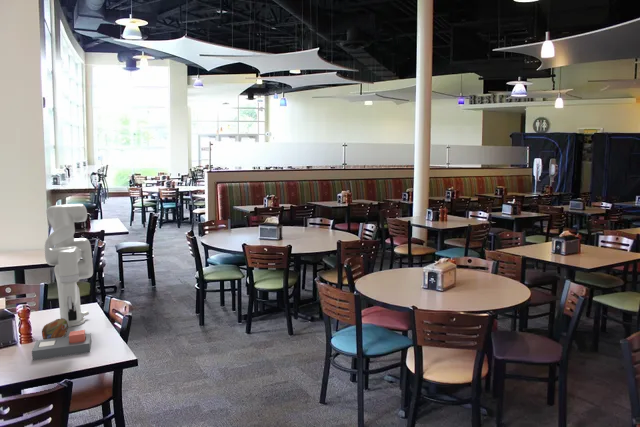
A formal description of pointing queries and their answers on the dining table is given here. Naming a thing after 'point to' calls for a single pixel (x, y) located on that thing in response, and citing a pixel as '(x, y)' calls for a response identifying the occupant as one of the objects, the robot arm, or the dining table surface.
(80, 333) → the red button
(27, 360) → the dining table surface
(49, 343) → the white button
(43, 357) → the console
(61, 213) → the robot arm
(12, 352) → the dining table surface
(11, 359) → the dining table surface
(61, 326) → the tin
